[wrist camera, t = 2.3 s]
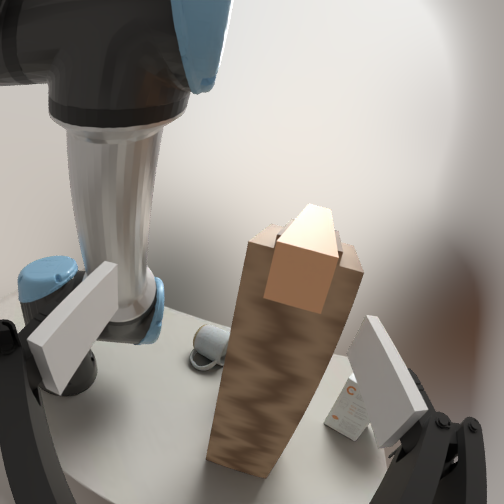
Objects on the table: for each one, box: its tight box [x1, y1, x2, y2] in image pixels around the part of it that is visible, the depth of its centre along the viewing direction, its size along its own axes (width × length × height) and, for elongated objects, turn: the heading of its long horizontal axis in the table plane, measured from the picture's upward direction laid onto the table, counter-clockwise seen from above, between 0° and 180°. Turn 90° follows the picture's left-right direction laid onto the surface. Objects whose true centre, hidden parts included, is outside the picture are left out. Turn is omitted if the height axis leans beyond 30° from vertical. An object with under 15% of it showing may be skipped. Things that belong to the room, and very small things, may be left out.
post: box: [206, 219, 364, 479], centre depth 32 cm, size 10×10×37 cm
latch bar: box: [263, 204, 339, 314], centre depth 24 cm, size 3×24×3 cm, turn 165°
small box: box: [324, 373, 370, 441], centre depth 44 cm, size 8×6×13 cm
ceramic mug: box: [190, 324, 230, 371], centre depth 58 cm, size 11×8×8 cm
